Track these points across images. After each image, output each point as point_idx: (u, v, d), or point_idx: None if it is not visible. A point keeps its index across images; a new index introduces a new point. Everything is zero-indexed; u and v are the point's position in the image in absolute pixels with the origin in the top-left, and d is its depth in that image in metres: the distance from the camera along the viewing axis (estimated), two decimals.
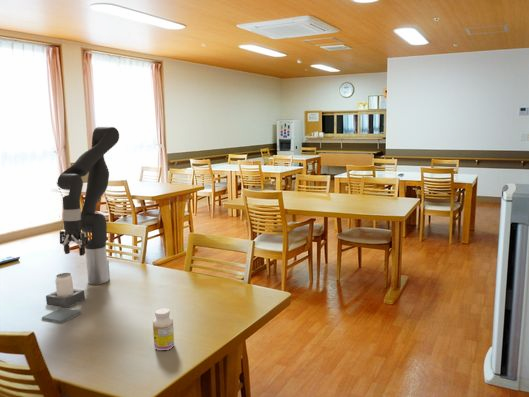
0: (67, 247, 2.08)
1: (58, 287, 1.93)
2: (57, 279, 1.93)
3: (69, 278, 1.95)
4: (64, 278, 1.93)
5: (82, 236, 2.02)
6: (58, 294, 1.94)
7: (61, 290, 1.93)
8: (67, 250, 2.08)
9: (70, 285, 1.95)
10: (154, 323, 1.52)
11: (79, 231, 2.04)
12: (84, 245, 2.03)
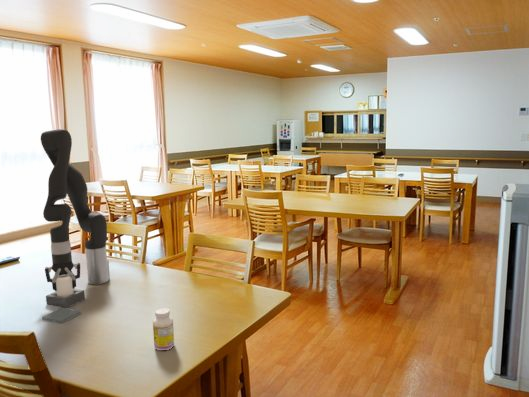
0: (72, 281, 1.97)
1: (58, 287, 1.93)
2: (57, 279, 1.93)
3: (69, 278, 1.95)
4: (64, 278, 1.93)
5: None
6: (58, 294, 1.94)
7: (61, 290, 1.93)
8: None
9: (70, 285, 1.95)
10: (154, 323, 1.52)
11: None
12: None
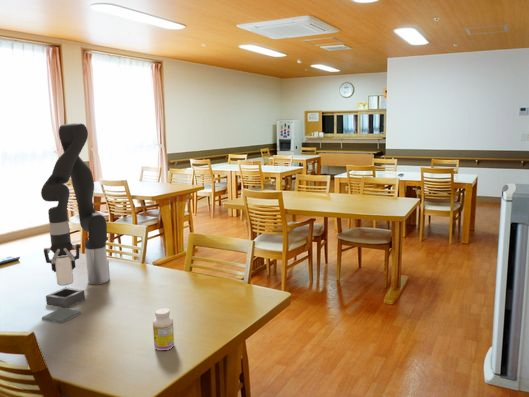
0: None
1: (57, 268, 1.92)
2: (56, 260, 1.92)
3: (68, 259, 1.93)
4: (63, 259, 1.92)
5: None
6: (57, 275, 1.93)
7: (60, 271, 1.92)
8: None
9: (70, 266, 1.94)
10: (154, 323, 1.52)
11: None
12: None
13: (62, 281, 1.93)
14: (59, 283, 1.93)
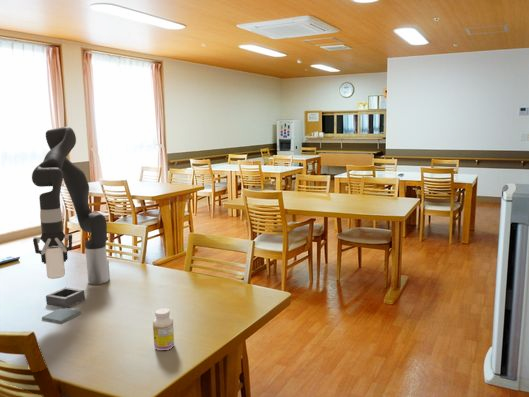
0: (63, 254, 1.80)
1: (47, 259, 1.76)
2: (46, 250, 1.76)
3: (60, 250, 1.77)
4: (54, 249, 1.76)
5: None
6: (47, 267, 1.77)
7: (51, 262, 1.76)
8: None
9: (61, 257, 1.78)
10: (154, 323, 1.52)
11: (42, 234, 1.76)
12: None
13: (52, 274, 1.77)
14: (49, 276, 1.77)
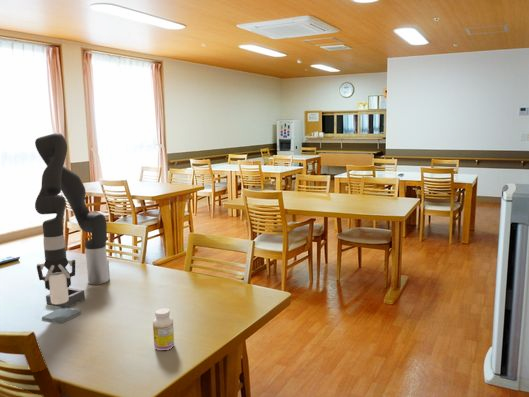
0: None
1: (51, 286, 1.78)
2: (50, 277, 1.77)
3: (63, 276, 1.79)
4: (58, 276, 1.77)
5: None
6: (51, 293, 1.78)
7: (54, 289, 1.77)
8: (67, 283, 1.82)
9: (65, 283, 1.80)
10: (154, 323, 1.52)
11: (45, 261, 1.78)
12: None
13: (56, 300, 1.78)
14: (53, 302, 1.79)
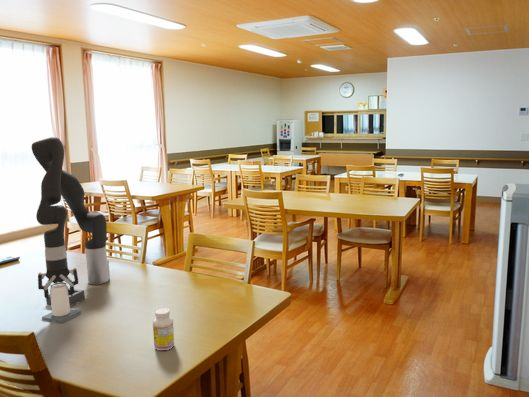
0: (70, 288, 1.82)
1: (53, 298, 1.78)
2: (51, 289, 1.78)
3: (64, 288, 1.80)
4: (59, 288, 1.78)
5: None
6: (53, 305, 1.79)
7: (56, 301, 1.78)
8: (70, 291, 1.83)
9: (66, 295, 1.80)
10: (154, 323, 1.52)
11: None
12: None
13: (58, 313, 1.79)
14: (54, 314, 1.80)
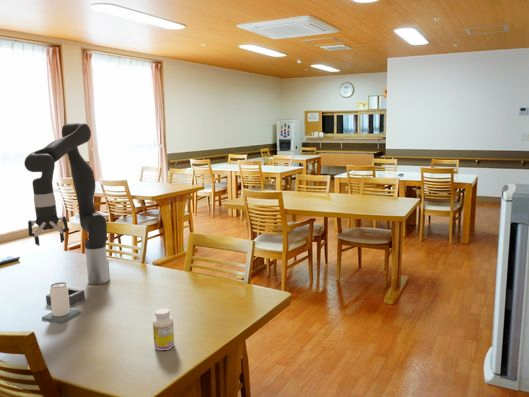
0: (60, 235, 1.87)
1: (53, 298, 1.78)
2: (51, 289, 1.78)
3: (64, 288, 1.80)
4: (59, 288, 1.78)
5: None
6: (53, 305, 1.79)
7: (56, 301, 1.78)
8: (60, 238, 1.88)
9: (66, 295, 1.80)
10: (154, 323, 1.52)
11: None
12: None
13: (58, 313, 1.79)
14: (54, 314, 1.80)
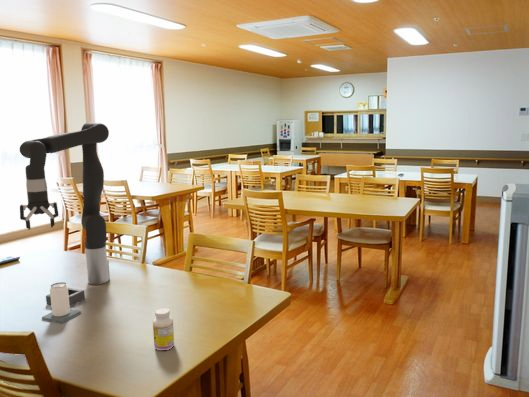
0: None
1: (53, 298, 1.78)
2: (51, 289, 1.78)
3: (64, 288, 1.80)
4: (59, 288, 1.78)
5: None
6: (53, 305, 1.79)
7: (56, 301, 1.78)
8: None
9: (66, 295, 1.80)
10: (154, 323, 1.52)
11: (28, 203, 1.90)
12: None
13: (58, 313, 1.79)
14: (54, 314, 1.80)
